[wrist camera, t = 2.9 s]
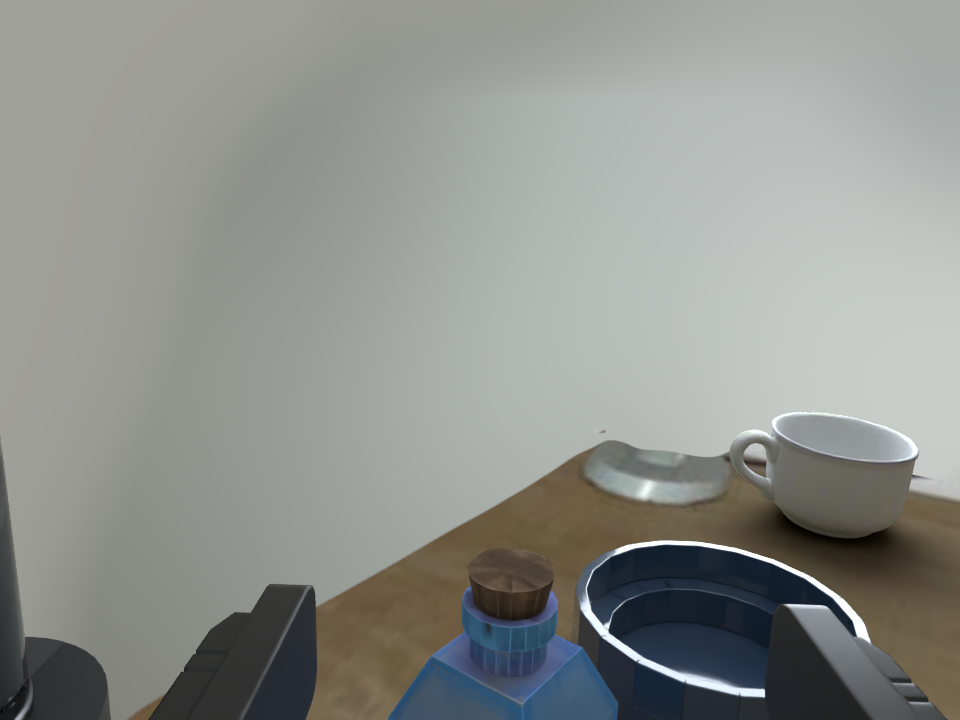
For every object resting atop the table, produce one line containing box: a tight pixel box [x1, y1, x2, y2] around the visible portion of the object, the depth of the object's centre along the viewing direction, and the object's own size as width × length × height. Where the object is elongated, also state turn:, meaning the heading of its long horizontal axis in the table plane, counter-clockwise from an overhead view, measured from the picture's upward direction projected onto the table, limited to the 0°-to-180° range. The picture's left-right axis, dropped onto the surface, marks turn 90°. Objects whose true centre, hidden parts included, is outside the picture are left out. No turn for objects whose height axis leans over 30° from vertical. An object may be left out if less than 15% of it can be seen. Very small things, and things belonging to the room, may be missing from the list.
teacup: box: [730, 412, 919, 538], centre depth 57 cm, size 14×11×8 cm
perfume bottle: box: [388, 548, 618, 720], centre depth 26 cm, size 6×6×12 cm
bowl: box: [572, 541, 872, 720], centre depth 37 cm, size 14×14×5 cm
